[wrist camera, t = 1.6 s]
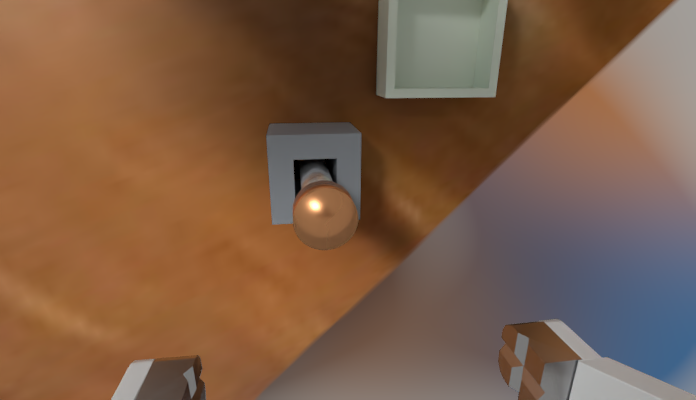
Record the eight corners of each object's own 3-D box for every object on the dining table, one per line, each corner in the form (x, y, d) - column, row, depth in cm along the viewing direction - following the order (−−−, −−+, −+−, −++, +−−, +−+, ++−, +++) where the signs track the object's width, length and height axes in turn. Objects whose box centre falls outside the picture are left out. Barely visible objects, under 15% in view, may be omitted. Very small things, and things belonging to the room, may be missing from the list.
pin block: (269, 123, 29) (266, 135, 24) (349, 122, 29) (361, 133, 25) (274, 199, 31) (272, 224, 26) (349, 196, 31) (360, 219, 27)
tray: (379, -27, 26) (390, -37, 24) (488, -23, 27) (511, -32, 25) (375, 94, 29) (385, 98, 26) (476, 94, 30) (495, 97, 27)
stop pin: (289, 141, 29) (291, 190, 18) (331, 140, 30) (358, 187, 18) (291, 182, 30) (294, 252, 19) (331, 180, 31) (357, 248, 20)
